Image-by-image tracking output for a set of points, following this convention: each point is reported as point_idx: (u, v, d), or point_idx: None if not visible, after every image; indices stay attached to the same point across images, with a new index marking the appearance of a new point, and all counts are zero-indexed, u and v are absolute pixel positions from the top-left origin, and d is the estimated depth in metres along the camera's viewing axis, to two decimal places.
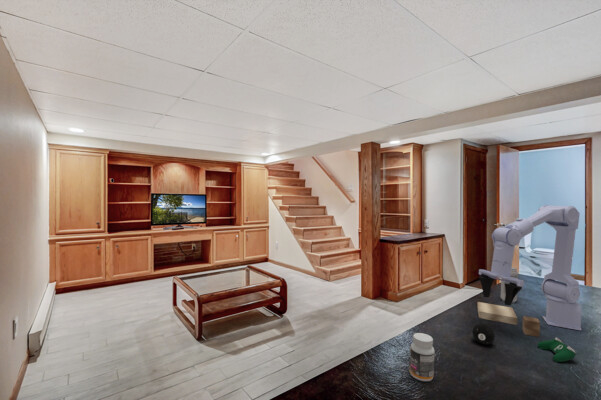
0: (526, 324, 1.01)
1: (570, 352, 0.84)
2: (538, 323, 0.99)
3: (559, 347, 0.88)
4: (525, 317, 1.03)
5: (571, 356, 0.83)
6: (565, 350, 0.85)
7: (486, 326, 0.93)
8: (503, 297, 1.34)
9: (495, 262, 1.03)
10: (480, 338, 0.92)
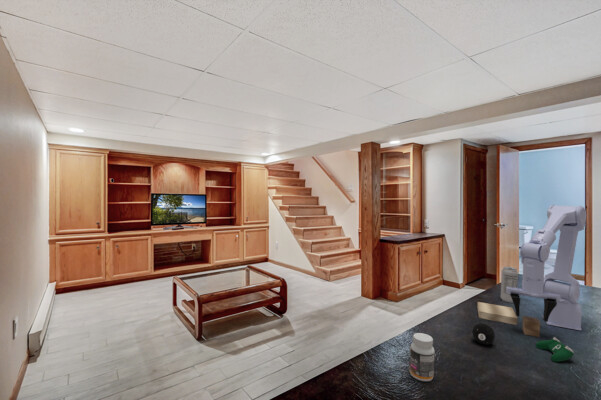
0: (526, 324, 1.01)
1: (568, 352, 0.84)
2: (538, 323, 0.99)
3: (557, 347, 0.88)
4: (525, 317, 1.03)
5: (569, 356, 0.84)
6: (563, 350, 0.85)
7: (486, 326, 0.93)
8: (503, 297, 1.34)
9: (533, 281, 0.99)
10: (480, 338, 0.92)
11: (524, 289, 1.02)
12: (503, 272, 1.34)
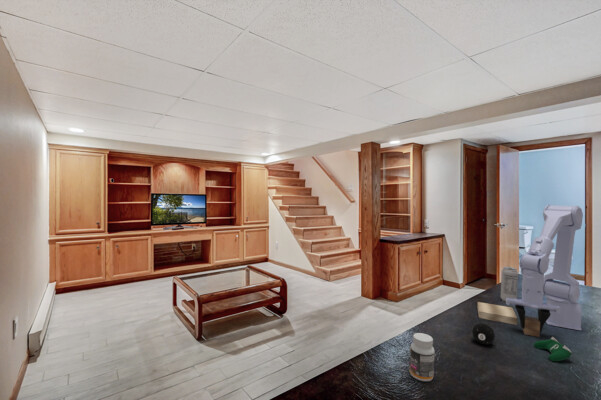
0: (526, 324, 1.01)
1: (566, 352, 0.84)
2: (538, 323, 0.99)
3: (555, 347, 0.88)
4: (525, 317, 1.03)
5: (567, 356, 0.84)
6: (561, 350, 0.85)
7: (486, 326, 0.93)
8: (503, 297, 1.34)
9: (532, 293, 0.99)
10: (480, 338, 0.92)
11: (524, 300, 1.02)
12: (503, 272, 1.34)
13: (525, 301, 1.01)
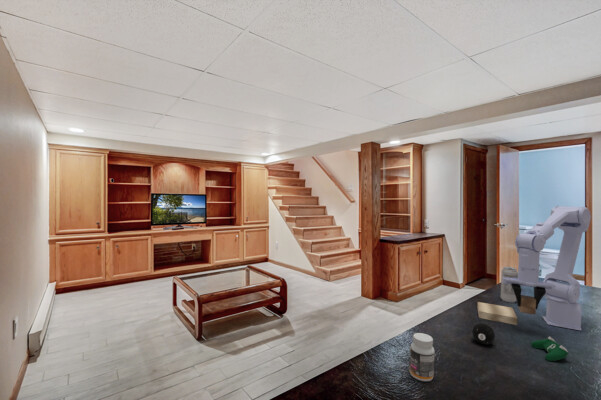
0: (522, 302, 1.03)
1: (562, 351, 0.84)
2: (534, 301, 1.01)
3: (552, 346, 0.88)
4: (521, 295, 1.05)
5: (563, 355, 0.84)
6: (557, 349, 0.85)
7: (486, 326, 0.93)
8: (503, 297, 1.34)
9: (528, 270, 1.01)
10: (480, 338, 0.92)
11: (520, 279, 1.03)
12: (503, 272, 1.34)
13: (521, 279, 1.03)
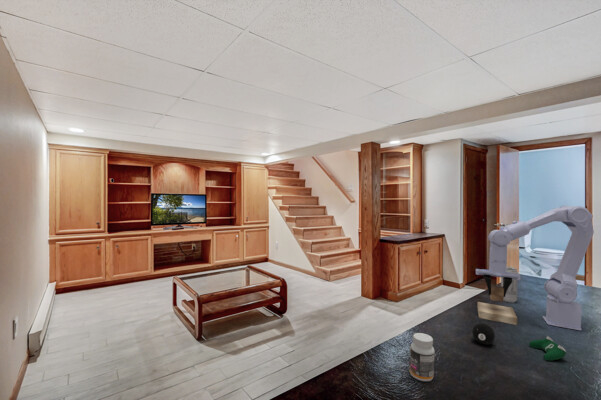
0: (492, 291, 1.15)
1: (560, 351, 0.84)
2: (502, 289, 1.14)
3: (550, 346, 0.88)
4: (492, 285, 1.18)
5: (561, 355, 0.84)
6: (556, 349, 0.85)
7: (486, 326, 0.93)
8: (503, 297, 1.34)
9: (497, 263, 1.14)
10: (480, 338, 0.92)
11: (490, 270, 1.16)
12: None
13: (491, 270, 1.16)
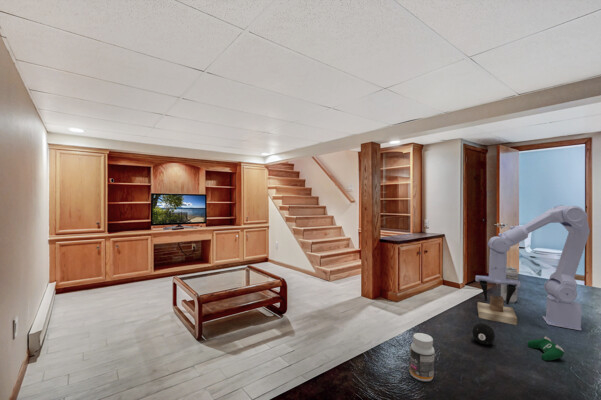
0: (492, 301, 1.16)
1: (558, 351, 0.84)
2: (502, 300, 1.14)
3: (548, 346, 0.88)
4: (492, 295, 1.18)
5: (559, 355, 0.84)
6: (553, 349, 0.85)
7: (486, 326, 0.93)
8: (503, 297, 1.34)
9: (497, 269, 1.14)
10: (480, 338, 0.92)
11: (490, 277, 1.17)
12: None
13: (491, 277, 1.16)
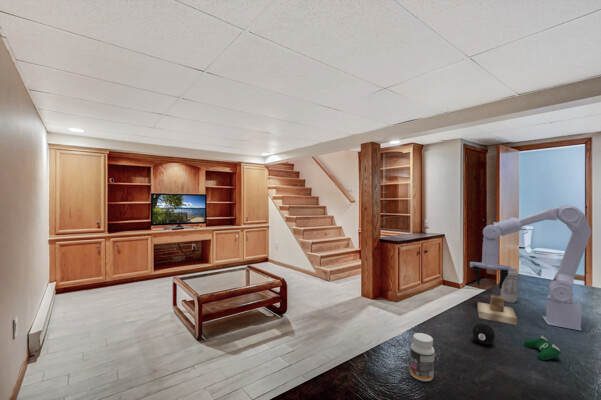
0: (492, 301, 1.16)
1: (555, 350, 0.85)
2: (502, 300, 1.14)
3: (544, 345, 0.88)
4: (492, 295, 1.18)
5: (555, 354, 0.84)
6: (550, 348, 0.86)
7: (486, 326, 0.93)
8: (503, 297, 1.34)
9: (489, 255, 1.21)
10: (480, 338, 0.92)
11: (483, 263, 1.24)
12: None
13: (484, 263, 1.23)
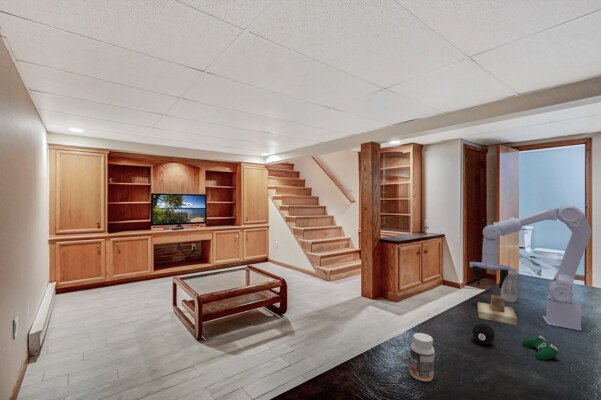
0: (493, 301, 1.15)
1: (552, 350, 0.85)
2: (503, 300, 1.14)
3: (542, 345, 0.88)
4: (493, 295, 1.18)
5: (553, 354, 0.84)
6: (548, 348, 0.86)
7: (486, 326, 0.93)
8: None
9: (489, 255, 1.21)
10: (480, 338, 0.92)
11: (483, 263, 1.24)
12: None
13: (484, 263, 1.23)
